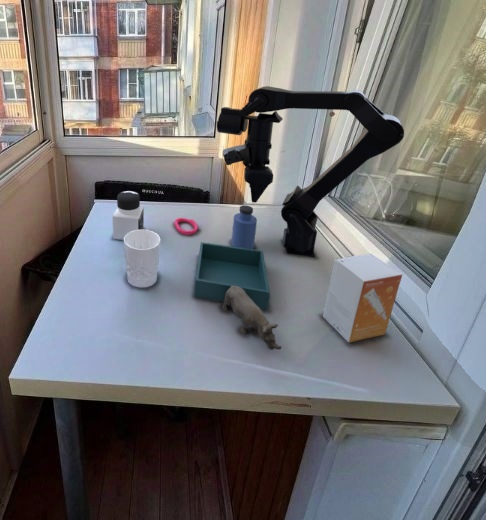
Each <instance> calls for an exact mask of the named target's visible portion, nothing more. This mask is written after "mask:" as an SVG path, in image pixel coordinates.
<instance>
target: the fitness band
mask: <svg viewBox="0 0 486 520" xmlns="http://www.w3.org/2000/svg"><path fill="white" fill-rule="evenodd" d="M182 222H183V223H188V224H190V225H191V226H192V227H193V228H194V229H191V230H185V229H183V228H182V227H181V226H180V224H179V223H182ZM174 227H175V228H176V230H177V231H178V233H179V234H182V235H186V236H191V235H193V234H195V233H196V232H197V231H199V227H198V223H197V222H196V221H195V220H194V218H190V219H189V218H185V217H177V218H175V220H174Z"/></svg>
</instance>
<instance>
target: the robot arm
mask: <svg viewBox="0 0 486 520" xmlns="http://www.w3.org/2000/svg"><path fill="white" fill-rule="evenodd" d="M288 109H289V110H290V109H297V110H298V109H299V110H301V109H302V110H330V111H332V110H334V111H348V112H350V114H352V116H353V117H354V118H355V119H356V120H357V122H358V123H360V124H361V126H362V127H363V128H364V129H363V130H362V131H361V133H360V135H359V136H358V137H357V139H356V141H355V142H354V144H353V145H352V146H351V147H350V148H349V149H347V150H346V151H345V152H344V153H343V154H342V155H341V156H340V157H338V159H336V161H334V162H333V163H332V164H331V165H330V166H329V167H328V168H327V169H326V170H324V171H323V172H322V173H321V174H320V175H319V176H318V177H317V178H316V179H315V180H314V181H312V182H311V183H310V184H309V185H307V186H306V187H303V188H301V187H300V186H299V185H298V184H297V185H296V186H295V187H294V189H293V191H292V192H290V193H287V194H286V196H285V198H284V199H283V201H282V208H281V209H280V213H281V214H280V215H281V218H282V220H284V222H285V223H286V227H285V228H284V229H283V235H282V246H283V248H285V252H286V254H289V255H295V256H301V257H308V258H316V253H315V246H316V242H317V241H316V240H317V234H318V231H317V228H316V225H317V222H318V219H319V216H318V215H317V213H315V211H314V210H315V209H316V208H317V206H318V205H319V203H320V202H321V201H322V200H323V199H324V198H325V197H327V196H328V195H329V194H330V193H331V192H332V191H333V190H335V189H336V188H337V187H338V186H340V185H341V184H342V183H343V182H344V181H345V180H346V179H347V178H348V177H350V176H351V175H352V174H353V173H354V172H356V171H357V170H358V169H359V168H360V167H361V166H362V165H364V164H365V163H366V162H367V161H368V160H370V159H373V158H374V157H377V156H379V155H382V154H384V153H385V152H387V151H389V150H390V149H392V148H393V147H396V146H397V145H398V144H400V143H401V142H402V140H403V139H404V137H405V130H404V127H403V125H402V123H401V121H400V120H399V118H398V117H396V116H394V115H392V114H386V113H384V111H382V110H381V109H380V108H379V107H377V106H376V105H375V104H374V103H373V102H372V101H371V100H370V99H368V98H367V97H366V95H365V94H364V93H363V92H362V91H360V90H349V91H345V90H343V91H338V90H337V91H335V90H334V91H331V90H329V91H328V90H327V91H323V90H322V91H321V90H320V91H318V90H317V91H315V90H311V91H310V90H306V91H305V90H303V91H301V90H300V91H299V90H295V91H294V90H289V89H286V88H281V87H276V86H275V87H274V86H269V85H268V86H267V85H265V86H261V87H258V88H256V89H254V90H253V91H252V92H250V94H249V96H248V100H247V103H246V104H245V105H244V106H243V107H241V108H232V107H228V106H224V107H221V109H220V113H219V114H218V119H217V121H216V131H217V132H218V133H219V134H227V135H235V136H241V135H242V134H243V133H245V132H247V134H246V138H245V139H244V144H239V145H234V146H231V147H227V148H224V149H223V150H222V157H223V161H224V164H225V165H226V166H231V165H232V164H236V163H239V162H240V163H241V162H242V164H243V166H244V173H243V177H244V178H243V179H244V182H246V183H247V184H248V185H249V188H250V198H251V203H257V202H258V201H259V199H260V198H261V197H262V195H263V193H264V192H265V191H266V189H267V188H268V187H269V185H271V184H272V183H273V182H274V173H273V170H272V169H271V168H270V167H269V165H270V163H271V160H270V151H271V150H272V147H273V145H272V134H273V127H274V123H276V124H279V123H281V122H282V121H283V117H282V116H281V115H279V113H278V111H282V110H288ZM271 112H272V113H271ZM254 113H258V114H257V115H252V114H254Z"/></svg>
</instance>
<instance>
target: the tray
mask: <svg viewBox="0 0 486 520" xmlns="http://www.w3.org/2000/svg"><path fill="white" fill-rule="evenodd" d="M194 280H195V281H194V294H193V295H194V298H195V297H196V298H201V299H206V300H211V301H217V302H223V303H224V299H225V294H226V292H227V291H228V289H229V288H230V287H231V286H237V287H240V288H242V289H243V290H244V291H245V292H246V294H247V295H248V296H249V297H250V298H251V299H252V300H253V302H254V303H255V304H256V305H257V306H258V307H259V308H260V309H261V310H267V311H268V309H269V303H270V296H271V291H270V285H269V278H268V273H267V267H266V260H265V254H264V251H263V250H260V249H254V248H253V249H247V248H239V247H233V246H232V245H224V244H217V243H212V242H211V243H210V242H204V241H200V245H199V251H198V259H197V266H196V273H195V279H194Z"/></svg>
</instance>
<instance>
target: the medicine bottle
mask: <svg viewBox="0 0 486 520" xmlns="http://www.w3.org/2000/svg"><path fill="white" fill-rule="evenodd" d="M140 198H141V197H140V194H139V193H138V192H136V191H131V190H127V191H121V192H119V193H118V194H117V196H116V209H115V210H114V212H113V214H112V238H113V239H114V240H122V241H124V237H125V235H126V234H128V233H129V232H131V231H134V230H144V226H145V225H144V224H145V223H144V222H145V221H144V220H145V219H144V215H145V214H144V213H145V212H144V211H145V209H144V206H143V205H141V199H140Z"/></svg>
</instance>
